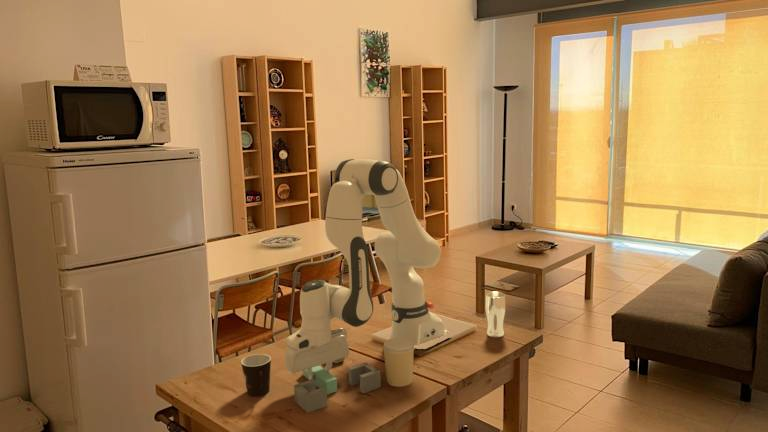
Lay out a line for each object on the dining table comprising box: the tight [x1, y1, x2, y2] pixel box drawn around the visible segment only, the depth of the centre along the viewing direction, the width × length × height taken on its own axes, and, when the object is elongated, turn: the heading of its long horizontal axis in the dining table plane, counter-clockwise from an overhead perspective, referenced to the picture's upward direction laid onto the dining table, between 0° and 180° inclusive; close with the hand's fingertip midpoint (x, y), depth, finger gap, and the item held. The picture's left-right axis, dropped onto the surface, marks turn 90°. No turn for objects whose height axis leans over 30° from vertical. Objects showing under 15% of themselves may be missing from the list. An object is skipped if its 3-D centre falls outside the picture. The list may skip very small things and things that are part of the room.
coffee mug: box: [240, 353, 272, 398], centre depth 172 cm, size 12×9×10 cm
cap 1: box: [293, 379, 328, 414], centre depth 166 cm, size 6×8×5 cm
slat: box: [302, 365, 338, 395], centre depth 178 cm, size 16×3×4 cm, turn 34°
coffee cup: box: [382, 338, 415, 387], centre depth 177 cm, size 9×9×12 cm
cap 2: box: [347, 361, 382, 394], centre depth 175 cm, size 6×8×5 cm
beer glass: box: [485, 291, 506, 338], centre depth 209 cm, size 7×7×15 cm
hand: (319, 377), depth 178 cm, fingers closed on slat, 3 cm apart
